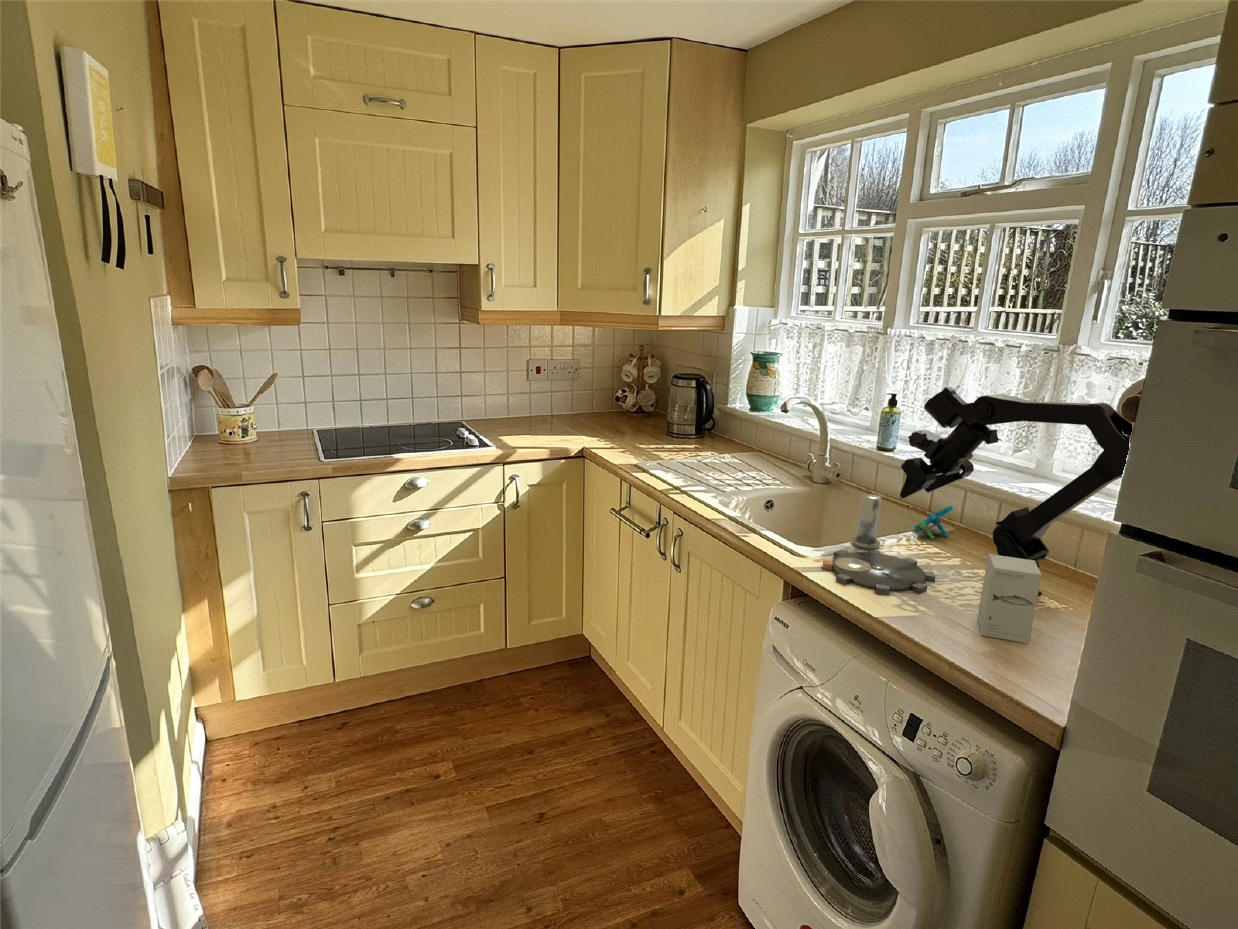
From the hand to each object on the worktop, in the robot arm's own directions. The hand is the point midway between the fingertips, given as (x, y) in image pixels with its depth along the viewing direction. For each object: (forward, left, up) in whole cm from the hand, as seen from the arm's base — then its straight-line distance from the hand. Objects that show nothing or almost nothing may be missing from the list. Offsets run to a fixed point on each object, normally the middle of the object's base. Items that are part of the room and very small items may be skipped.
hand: (914, 493), depth 159 cm
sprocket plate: (-12, +12, -13) cm, 22 cm away
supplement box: (-38, +2, -14) cm, 41 cm away
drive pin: (+4, +8, -13) cm, 16 cm away
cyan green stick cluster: (+12, -12, -14) cm, 22 cm away
